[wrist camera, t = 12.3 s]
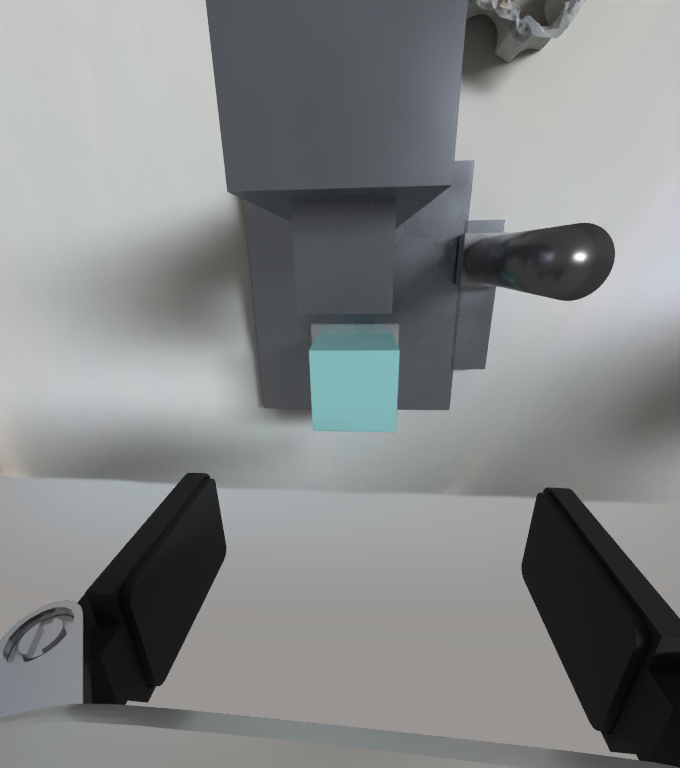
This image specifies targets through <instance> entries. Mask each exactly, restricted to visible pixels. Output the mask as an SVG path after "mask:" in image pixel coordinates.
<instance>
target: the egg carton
mask: <svg viewBox="0 0 680 768" xmlns="http://www.w3.org/2000/svg"><path fill="white" fill-rule="evenodd" d="M584 1H585V0H545V6H544V13H545V18H546V22H547V24H548V26H542V27H541V26H540V25H539V23H537V22H536V21H535V20H534V19H533V18H532V17H531V16H525V17H523V18H521V19H520V18H519V14H520V9H521V7H520V6H519V5H518V4H516V3H515V2H514V0H468V3H467V15H466V21H467V20H468V19H469V18H471V17H472V16H475V15H480V14H482V15H487V16H489V17H490V18H491V19H492V20H493V21H494V23H495V25H496V28H497V33H498V41H497V46H496V50H495V53H496V55H497V56H499V57H500V58H502V59H504V60H505V61H506V62H509V63H510V62H511V61H512V60H513V59H514V57H515V56H516V55H517V54H519V53H520V52H522V51H523V50H526V49H536V50H539V51H540V50H541V49H542V48H543V47H544V46H545V45H546V44H547V43H548V42H549V40H550V39H551V38H558V37H559V36H560V35H561V34H562V33H563V32H564V30H565V29H566V28H567V27H568V25H569V24H570V23H571V21H572V20H573V18H574V17H575V15H576V14H577V12H578V11H579V10H580V8H581V6H582V4H583V3H584Z"/></svg>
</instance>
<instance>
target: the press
mask: <svg viewBox="0 0 680 768" xmlns="http://www.w3.org/2000/svg"><path fill="white" fill-rule="evenodd" d="M467 3H468V0H206V7H207V15H208V24H209V33H210V42H211V51H212V59H213V68H214V77H215V86H216V95H217V103H218V112H219V121H220V130H221V139H222V147H223V156H224V165H225V174H226V183H227V191H228V192H229V193H232V194H234V195H236V196H238V197H240V198H242V199H243V206H244V216H245V226H246V236H247V245H248V255H249V265H250V275H251V285H252V295H253V305H254V315H255V325H256V335H257V345H258V355H259V364H260V374H261V384H262V394H263V404H264V408H292V409H312V403H311V383H310V363H309V349H310V348H311V346H312V344H313V342H314V340H315V339H316V337H317V335H318V333H319V332H392V333H393V335H394V338H395V340H396V343H397V345H398V348H399V350H400V353H399V377H398V400H397V409H401V410H449V406H450V396H451V386H452V376H453V369H485V364H486V356H487V349H488V341H489V334H490V327H491V319H492V312H493V304H494V297H495V289H496V286H466V287H460V286H457V285H455V282H456V271H457V261H458V250H459V240H460V235H461V234H466V233H503V230H504V223H505V220H477V221H468V218H469V209H470V199H471V189H472V179H473V169H474V161H454V157H455V145H456V133H457V122H458V110H459V98H460V86H461V74H462V62H463V50H464V38H465V27H466V15H467Z"/></svg>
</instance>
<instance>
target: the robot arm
mask: <svg viewBox="0 0 680 768" xmlns="http://www.w3.org/2000/svg"><path fill="white" fill-rule="evenodd" d="M225 555H226V543H225V537H224V530H223V525H222V519H221V513H220V507H219V501H218V495H217V489H216V483H215V480H214V479H210V476H209V475H208V474H206V473H187V474H186V475H185V476H184V477H183V478H182V480H181V481H180V482H179V483H178V484H177V485H176V487H175V488H174V489H173V490H172V491H171V493H170V494H169V495H168V496H167V497H166V498H165V500H164V501H163V502H162V503H161V504H160V505H159V507H158V508H157V509H156V510H155V511H154V512H153V514H152V515H151V516H150V517H149V518H148V519H147V521H146V522H145V523H144V524H143V525H142V526H141V528H140V529H139V530H138V531H137V533H136V534H135V535H134V536H133V537H132V538H131V539H130V541H129V542H128V543H127V544H126V545H125V546H124V548H123V549H122V550H121V551H120V552H119V554H118V555H117V556H116V557H115V558H114V559H113V560H112V562H111V563H110V564H109V565H108V566H107V567H106V569H105V570H104V571H103V572H102V573H101V574H100V576H99V577H98V578H97V579H96V580H95V582H94V583H93V584H92V585H91V586H90V587H89V589H88V590H87V591H86V592H85V594H84V596H83V597H82V598H81V599H80V600H79V602H78V603H76V602H73V601H67V600H66V601H59V602H54V603H51V604H48V605H45V606H43V607H41V608H39V609H37V610H35V611H33V612H31V613H29V614H28V615H27V616H25V617H24V618H23V619H21V620H20V621H18V622H17V623H16V624H15V625H14V626H13V627H12V628H11V629H10V630H9V631H7V633H5V635H4V636H3V638H2V639H1V640H0V768H680V618H679V617H678V616H677V615H676V614H675V612H674V611H673V610H672V609H671V608H670V606H669V605H668V604H667V603H666V602H665V601H664V599H663V598H662V597H661V596H660V595H659V593H657V591H656V590H655V589H654V587H653V586H652V585H651V584H650V583H649V582H648V580H647V579H646V578H645V577H644V576H643V574H642V573H641V572H640V571H639V570H638V568H637V567H636V566H635V565H634V564H633V562H632V561H631V560H630V559H629V558H628V556H627V555H626V554H625V553H624V552H623V551H622V549H621V548H620V547H619V546H618V545H617V543H616V542H615V541H614V540H613V539H612V537H611V536H610V535H609V534H608V533H607V532H606V530H605V529H604V528H603V527H602V526H601V524H600V523H599V522H598V521H597V520H596V518H595V517H594V516H593V515H592V514H591V513H590V511H589V510H588V509H587V508H586V506H585V505H584V504H583V503H582V502H581V500H580V499H579V498H578V497H577V496H576V494H575V493H574V492H573V491H572V490H571V489H567V488H545V489H544V491H543V493H538V495H537V497H536V502H535V506H534V511H533V516H532V520H531V525H530V529H529V534H528V538H527V543H526V547H525V552H524V557H523V561H522V575H523V579H524V581H525V583H526V585H527V587H528V590H529V592H530V594H531V596H532V598H533V600H534V603H535V605H536V607H537V609H538V611H539V614H540V616H541V618H542V620H543V622H544V624H545V626H546V629H547V631H548V633H549V635H550V637H551V640H552V642H553V644H554V646H555V648H556V650H557V653H558V655H559V657H560V659H561V661H562V664H563V666H564V668H565V670H566V672H567V674H568V677H569V679H570V681H571V683H572V685H573V687H574V690H575V692H576V694H577V696H578V698H579V700H580V702H581V705H582V707H583V709H584V711H585V713H586V716H587V718H588V720H589V722H590V723H591V725H592V726H593V728H594V729H596V730H597V731H601V733H602V735H603V737H604V739H605V741H606V743H607V745H608V748H609V750H610V751H611V752H619V753H629V754H636V755H637V757H638V759H639V760H632V759H624V758H617V757H609V756H602V755H594V754H586V753H579V752H572V751H564V750H555V749H546V748H537V747H529V746H520V745H511V744H501V743H493V742H485V741H476V740H467V739H458V738H449V737H440V736H431V735H421V734H413V733H403V732H394V731H385V730H375V729H366V728H357V727H347V726H338V725H328V724H318V723H309V722H300V721H290V720H280V719H270V718H261V717H250V716H240V715H230V714H220V713H211V712H199V711H191V710H181V709H168V708H155V707H142V706H129V705H125V704H126V702H127V701H128V700H130V701H138V702H148V701H149V699H150V697H151V695H152V693H153V691H154V689H155V687H156V686H160V685H162V683H163V682H164V681H165V679H166V677H167V675H168V673H169V671H170V669H171V667H172V665H173V663H174V661H175V659H176V657H177V655H178V653H179V651H180V649H181V647H182V645H183V643H184V641H185V638H186V636H187V634H188V632H189V630H190V628H191V626H192V624H193V622H194V620H195V618H196V616H197V614H198V612H199V610H200V608H201V606H202V604H203V602H204V600H205V598H206V596H207V594H208V592H209V589H210V587H211V585H212V583H213V581H214V579H215V577H216V575H217V573H218V571H219V569H220V567H221V565H222V563H223V561H224V558H225Z"/></svg>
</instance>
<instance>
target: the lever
mask: <svg viewBox="0 0 680 768" xmlns="http://www.w3.org/2000/svg"><path fill="white" fill-rule="evenodd" d="M614 258H615V249H614V244H613V241H612V239H611V237H610V235H609V234H608V233H607V232H606V231H605V230H604V229H603V228H601V227H599V226H597V225H595V224H590V223H578V224H571V225H565V226H558V227H551V228H545V229H538V230H531V231H525V232H514V233H466V234H461V235H460V240H459V250H458V261H457V271H456V282H455V285H457V286H460V287H466V286H499V287H504V288H508V289H513V290H517V291H522V292H526V293H531V294H535V295H540V296H544V297H549V298H554V299H558V300H564V301H571V300H577V299H580V298H583V297H585V296H587V295H589V294H591V293H592V292H594V291H595V290H596V289H598V288H599V287H600V286H601V285H602V284H603V282H604V281H605V280H606V278H607V277H608V275H609V273H610V271H611V269H612V266H613V263H614Z"/></svg>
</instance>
